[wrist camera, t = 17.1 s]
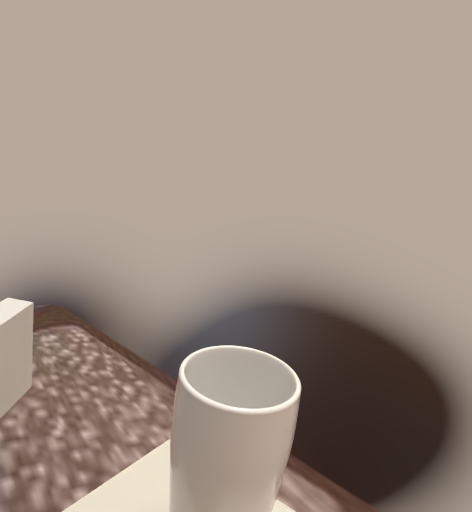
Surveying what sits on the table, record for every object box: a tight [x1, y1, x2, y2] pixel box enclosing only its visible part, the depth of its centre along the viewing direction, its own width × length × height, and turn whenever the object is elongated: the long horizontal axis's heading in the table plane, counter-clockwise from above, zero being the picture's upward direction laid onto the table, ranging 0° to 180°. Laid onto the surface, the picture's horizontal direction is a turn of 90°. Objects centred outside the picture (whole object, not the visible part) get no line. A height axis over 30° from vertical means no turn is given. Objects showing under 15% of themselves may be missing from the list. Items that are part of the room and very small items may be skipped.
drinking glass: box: [169, 346, 301, 512], centre depth 26 cm, size 7×7×15 cm
